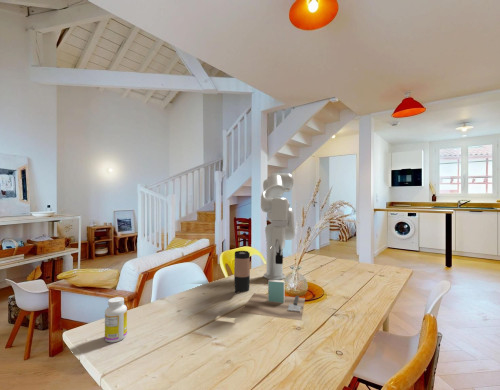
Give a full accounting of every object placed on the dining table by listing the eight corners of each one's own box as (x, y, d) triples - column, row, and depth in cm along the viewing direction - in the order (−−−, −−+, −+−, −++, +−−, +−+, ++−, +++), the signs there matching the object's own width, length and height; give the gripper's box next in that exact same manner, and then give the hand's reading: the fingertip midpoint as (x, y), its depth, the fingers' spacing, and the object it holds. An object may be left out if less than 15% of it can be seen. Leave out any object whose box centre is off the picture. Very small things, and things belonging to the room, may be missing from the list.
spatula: (291, 297, 120) (291, 295, 120) (302, 298, 119) (302, 296, 119) (287, 310, 106) (287, 308, 106) (300, 312, 104) (300, 309, 104)
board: (254, 296, 125) (254, 292, 125) (305, 301, 119) (305, 298, 119) (240, 316, 104) (240, 312, 104) (301, 324, 98) (301, 320, 98)
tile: (269, 299, 117) (269, 279, 117) (284, 301, 116) (284, 280, 116) (268, 301, 115) (268, 280, 115) (283, 303, 113) (284, 282, 114)
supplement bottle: (121, 330, 92) (121, 294, 92) (130, 337, 88) (130, 298, 88) (101, 338, 87) (101, 299, 87) (109, 345, 83) (110, 305, 83)
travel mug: (231, 293, 129) (231, 252, 129) (239, 288, 135) (239, 250, 136) (244, 296, 125) (245, 254, 125) (252, 291, 132) (252, 251, 132)
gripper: (274, 222, 131) (274, 259, 130) (268, 225, 116) (268, 266, 116) (289, 223, 129) (289, 260, 128) (285, 225, 114) (284, 267, 114)
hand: (279, 263), depth 122 cm, fingers closed
